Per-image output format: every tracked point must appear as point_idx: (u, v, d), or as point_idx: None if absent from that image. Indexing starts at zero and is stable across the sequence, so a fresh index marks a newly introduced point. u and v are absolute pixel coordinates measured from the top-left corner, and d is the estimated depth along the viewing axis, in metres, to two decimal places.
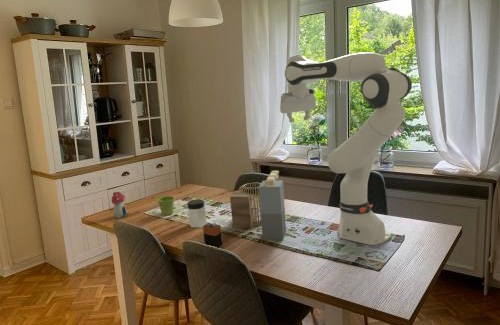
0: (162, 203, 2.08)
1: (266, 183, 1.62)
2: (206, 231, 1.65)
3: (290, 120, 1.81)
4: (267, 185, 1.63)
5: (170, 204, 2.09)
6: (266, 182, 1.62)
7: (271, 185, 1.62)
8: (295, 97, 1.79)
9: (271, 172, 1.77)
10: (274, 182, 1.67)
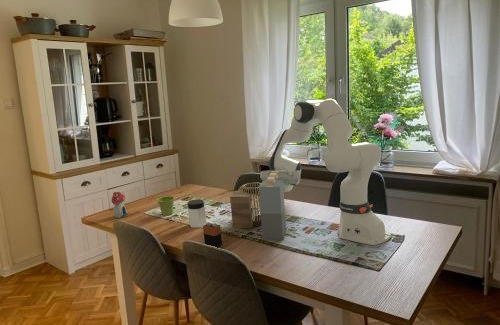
0: (162, 203, 2.08)
1: (266, 183, 1.62)
2: (206, 231, 1.65)
3: None
4: (267, 185, 1.63)
5: (170, 204, 2.09)
6: (266, 182, 1.62)
7: (271, 185, 1.62)
8: None
9: (271, 172, 1.77)
10: (274, 182, 1.67)
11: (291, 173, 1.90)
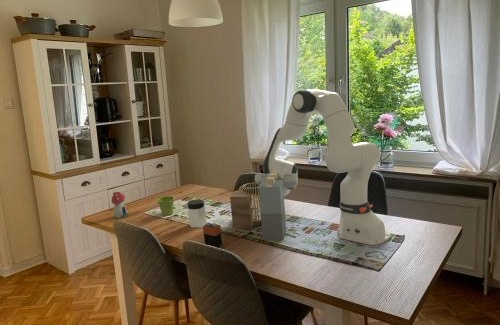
0: (162, 203, 2.08)
1: (266, 183, 1.63)
2: (206, 231, 1.65)
3: None
4: (267, 185, 1.63)
5: (170, 204, 2.09)
6: (266, 182, 1.62)
7: (271, 185, 1.62)
8: None
9: (271, 172, 1.77)
10: (274, 182, 1.67)
11: (282, 176, 1.77)
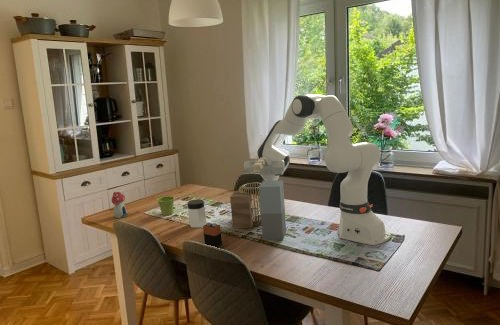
0: (162, 203, 2.08)
1: (253, 168, 1.73)
2: (206, 231, 1.65)
3: None
4: (254, 170, 1.73)
5: (170, 204, 2.09)
6: (253, 167, 1.73)
7: (258, 170, 1.73)
8: None
9: (259, 159, 1.87)
10: (261, 167, 1.78)
11: (269, 163, 1.88)
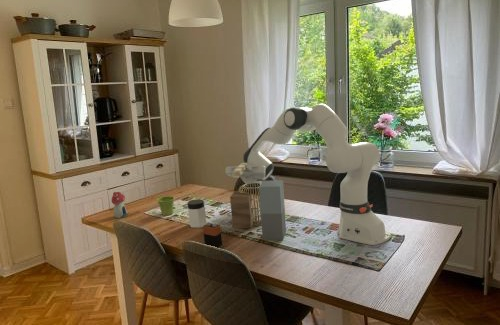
0: (162, 203, 2.08)
1: (233, 174, 1.76)
2: (206, 231, 1.65)
3: None
4: (234, 176, 1.76)
5: (170, 204, 2.09)
6: (233, 173, 1.75)
7: (237, 176, 1.75)
8: None
9: (240, 164, 1.90)
10: (241, 173, 1.80)
11: (250, 168, 1.90)
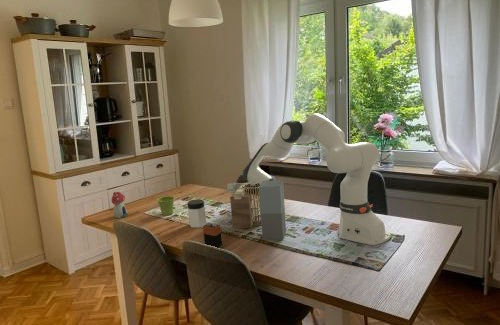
0: (162, 203, 2.08)
1: (235, 195, 1.78)
2: (206, 231, 1.65)
3: None
4: (235, 197, 1.78)
5: (170, 204, 2.09)
6: (235, 195, 1.78)
7: (239, 197, 1.77)
8: None
9: None
10: (243, 194, 1.82)
11: None
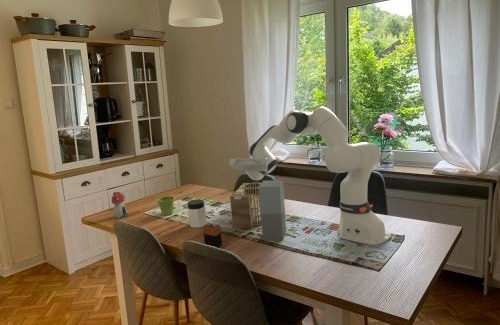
0: (162, 203, 2.08)
1: (235, 195, 1.78)
2: (206, 231, 1.65)
3: None
4: (235, 197, 1.78)
5: (170, 204, 2.09)
6: (235, 195, 1.78)
7: (239, 197, 1.77)
8: None
9: None
10: (243, 194, 1.82)
11: (258, 160, 1.97)
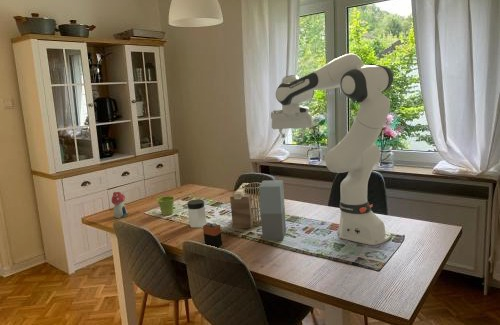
0: (162, 203, 2.08)
1: (235, 195, 1.78)
2: (206, 231, 1.65)
3: None
4: (235, 197, 1.78)
5: (170, 204, 2.09)
6: (235, 195, 1.78)
7: (239, 197, 1.77)
8: (284, 115, 1.89)
9: None
10: (243, 194, 1.82)
11: (304, 131, 1.91)
